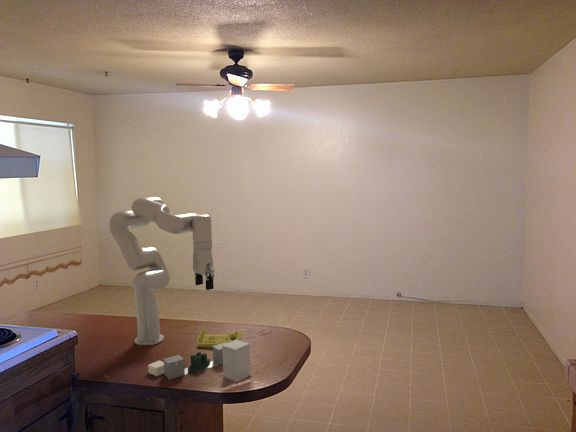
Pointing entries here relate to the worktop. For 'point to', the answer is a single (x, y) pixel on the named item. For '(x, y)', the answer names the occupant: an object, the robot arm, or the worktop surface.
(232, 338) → the plastic component
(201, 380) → the worktop surface
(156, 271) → the robot arm
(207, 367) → the rail
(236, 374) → the supplement box
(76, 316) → the worktop surface
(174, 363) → the block
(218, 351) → the block
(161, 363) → the block
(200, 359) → the mount
